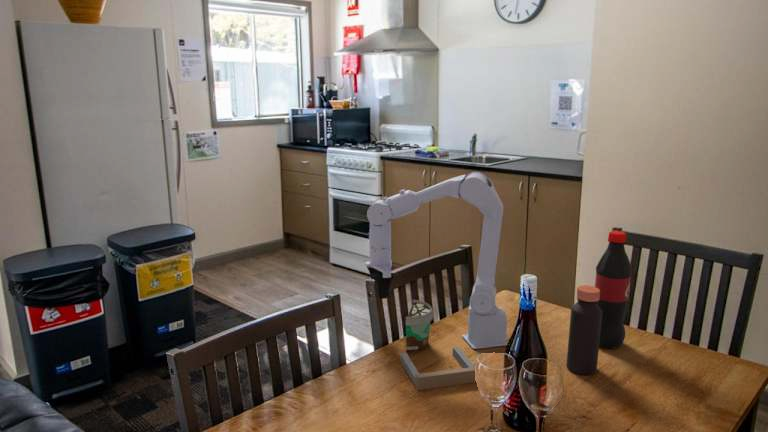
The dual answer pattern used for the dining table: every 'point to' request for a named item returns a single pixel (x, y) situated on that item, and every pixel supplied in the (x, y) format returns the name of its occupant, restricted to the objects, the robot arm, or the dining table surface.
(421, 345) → the food container
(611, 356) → the dining table surface
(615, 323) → the cola bottle
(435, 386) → the frame
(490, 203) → the robot arm
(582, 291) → the dark grey water bottle
